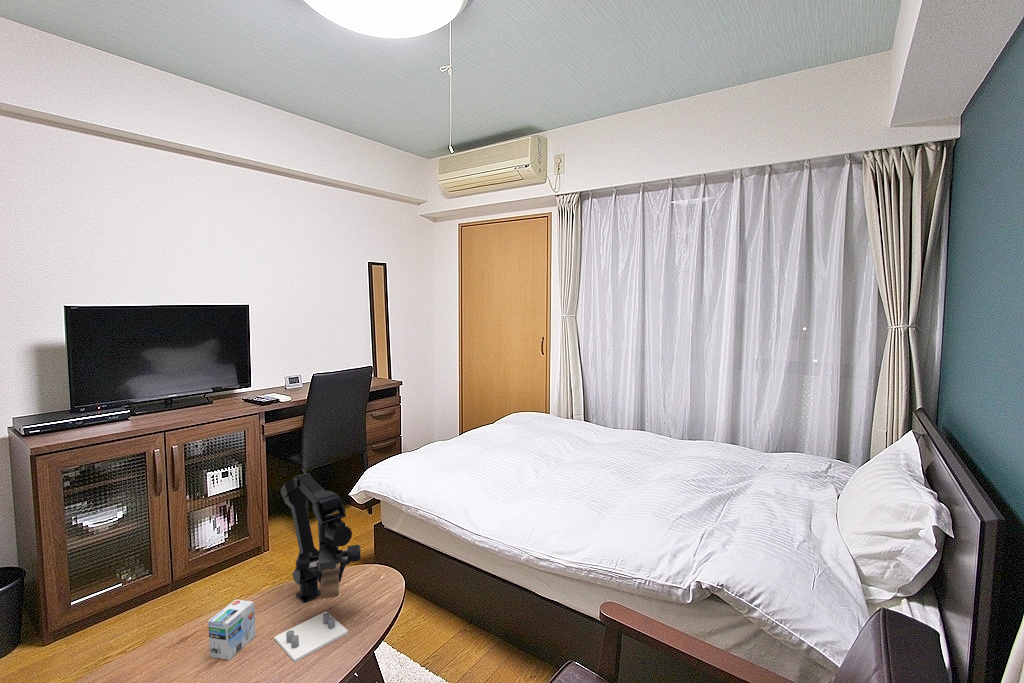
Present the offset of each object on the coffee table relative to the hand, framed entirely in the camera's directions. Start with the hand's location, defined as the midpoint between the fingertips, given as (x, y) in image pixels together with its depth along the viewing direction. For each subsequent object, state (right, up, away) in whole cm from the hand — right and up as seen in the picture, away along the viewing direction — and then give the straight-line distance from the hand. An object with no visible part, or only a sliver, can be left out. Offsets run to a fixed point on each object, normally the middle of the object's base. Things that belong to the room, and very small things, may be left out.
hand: (330, 583), depth 152 cm
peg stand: (-3, -12, -8) cm, 14 cm away
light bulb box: (-24, -13, -12) cm, 29 cm away
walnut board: (0, -1, 0) cm, 1 cm away
